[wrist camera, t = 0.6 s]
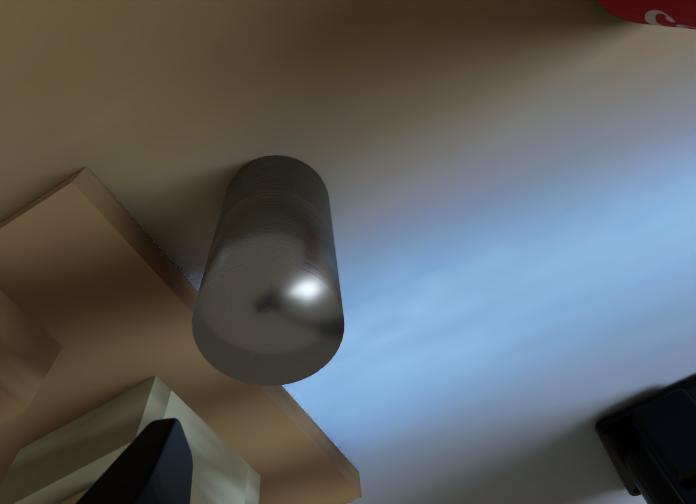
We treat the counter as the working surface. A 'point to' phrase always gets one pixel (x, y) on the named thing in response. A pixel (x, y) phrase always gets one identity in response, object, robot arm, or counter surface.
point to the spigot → (271, 277)
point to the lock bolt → (74, 499)
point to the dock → (130, 368)
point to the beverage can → (655, 11)
